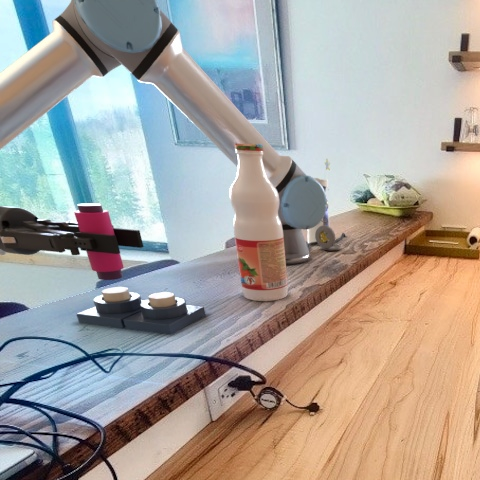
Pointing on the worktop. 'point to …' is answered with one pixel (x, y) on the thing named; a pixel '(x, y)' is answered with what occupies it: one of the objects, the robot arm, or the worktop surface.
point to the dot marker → (99, 222)
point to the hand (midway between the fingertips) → (128, 241)
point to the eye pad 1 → (115, 294)
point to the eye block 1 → (111, 311)
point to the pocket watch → (326, 237)
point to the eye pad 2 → (162, 299)
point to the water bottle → (313, 230)
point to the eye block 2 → (164, 317)
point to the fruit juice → (257, 228)
